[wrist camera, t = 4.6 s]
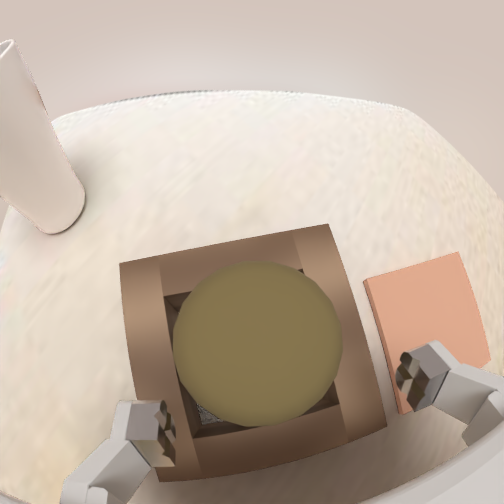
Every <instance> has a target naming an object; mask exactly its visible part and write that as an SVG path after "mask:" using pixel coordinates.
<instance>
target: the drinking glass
mask: <svg viewBox="0 0 504 504" xmlns="http://www.w3.org/2000/svg"><path fill="white" fill-rule="evenodd" d="M0 197H1V198H2V199H3V200H4V201H6V202H7V203H8V204H9V205H11V206H12V207H13V208H14V209H16V210H17V211H18V212H19V213H21V214H22V215H23V216H24V217H26V218H27V219H28V220H30V221H31V222H32V223H33V224H34V225H35V226H36V227H37V228H38V229H39V230H41V231H42V232H45V233H48V234H54V233H59V232H61V231H63V230H65V229H67V228H68V227H69V226H71V225H72V224H73V223H74V222H75V220H76V219H77V218H78V216H79V215H80V213H81V211H82V209H83V206H84V202H85V191H84V188H83V186H82V184H81V182H80V181H79V179H78V178H77V176H76V175H75V173H74V171H73V169H72V167H71V165H70V163H69V161H68V159H67V157H66V155H65V153H64V151H63V149H62V146H61V144H60V142H59V140H58V138H57V135H56V133H55V131H54V128H53V126H52V124H51V121H50V119H49V116H48V114H47V112H46V109H45V106H44V104H43V101H42V99H41V96H40V94H39V91H38V89H37V86H36V84H35V82H34V79H33V78H32V75H31V73H30V71H29V68H28V66H27V64H26V62H25V60H24V58H23V56H22V54H21V52H20V50H19V48H18V46H17V44H16V41H15V40H14V39H9V40H6V41H4V42H2V43H0Z"/></svg>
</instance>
